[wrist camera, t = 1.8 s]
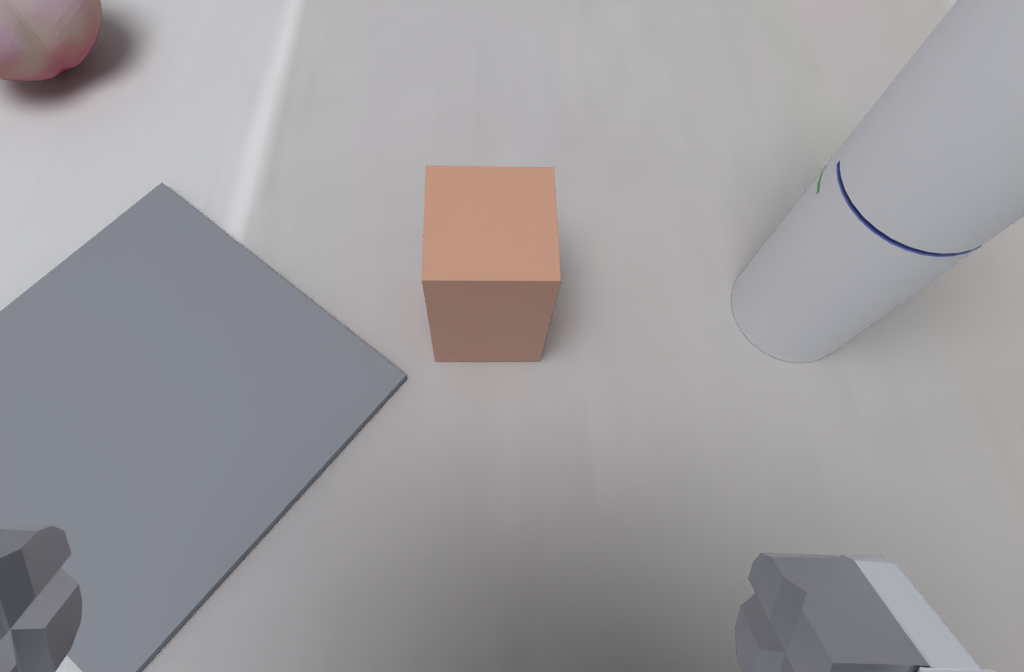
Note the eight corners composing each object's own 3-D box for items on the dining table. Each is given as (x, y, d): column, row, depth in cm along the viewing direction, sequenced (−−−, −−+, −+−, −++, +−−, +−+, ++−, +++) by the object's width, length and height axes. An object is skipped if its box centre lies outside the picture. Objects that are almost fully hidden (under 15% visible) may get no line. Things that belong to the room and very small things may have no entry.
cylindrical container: (738, 360, 38) (1144, -20, 15) (725, 254, 41) (1050, -206, 18) (857, 365, 38) (1436, -2, 15) (836, 259, 41) (1298, -187, 18)
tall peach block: (539, 361, 37) (561, 280, 28) (435, 361, 37) (422, 280, 28) (535, 269, 40) (554, 167, 30) (437, 269, 39) (425, 165, 30)
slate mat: (406, 378, 36) (405, 375, 36) (116, 698, 30) (109, 700, 29) (166, 188, 40) (161, 182, 40) (-138, 432, 34) (-148, 429, 33)
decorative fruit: (94, 1, 46) (-1, -150, 37) (153, 69, 44) (68, -73, 35) (-37, 63, 43) (-175, -84, 34) (20, 139, 41) (-111, 5, 32)
